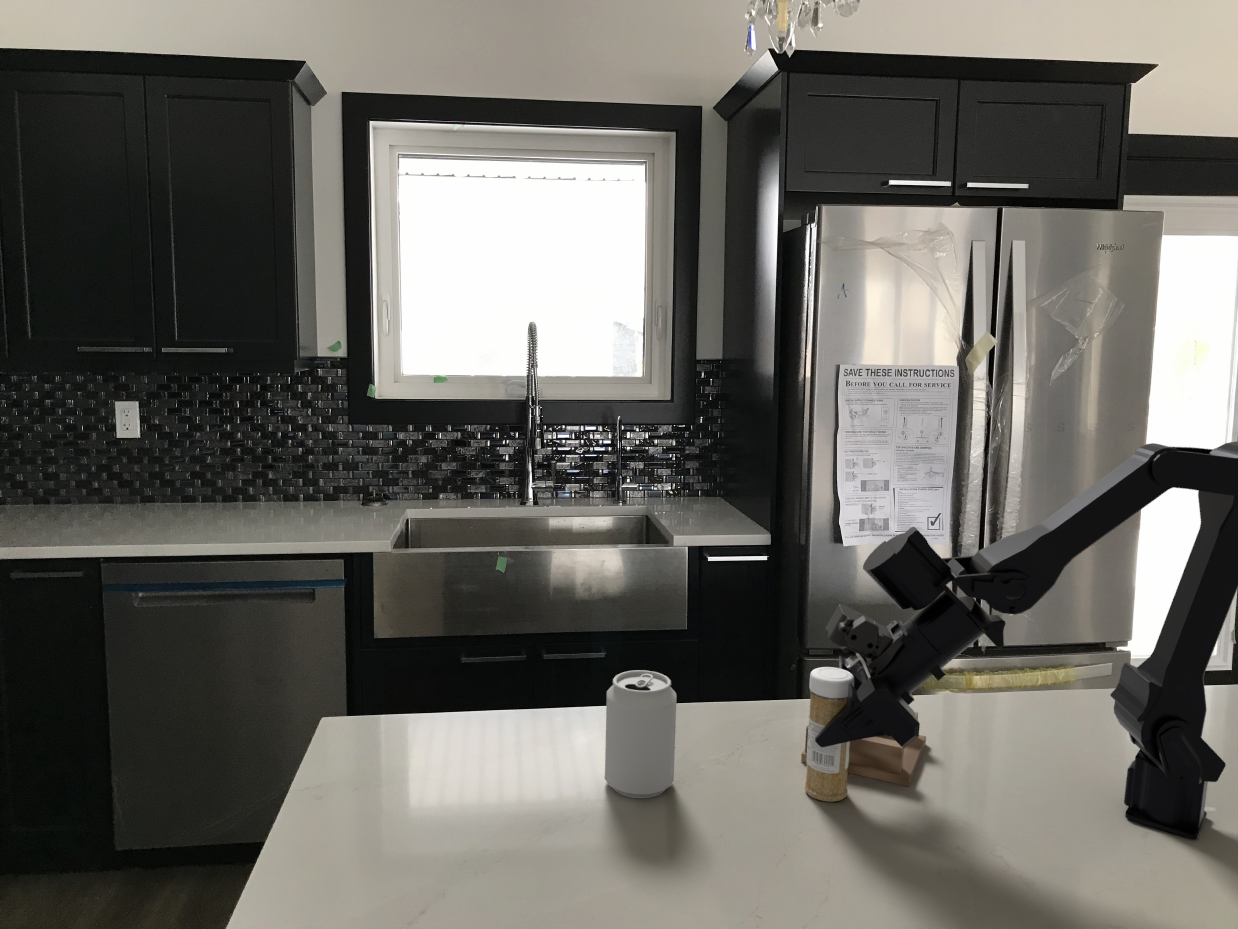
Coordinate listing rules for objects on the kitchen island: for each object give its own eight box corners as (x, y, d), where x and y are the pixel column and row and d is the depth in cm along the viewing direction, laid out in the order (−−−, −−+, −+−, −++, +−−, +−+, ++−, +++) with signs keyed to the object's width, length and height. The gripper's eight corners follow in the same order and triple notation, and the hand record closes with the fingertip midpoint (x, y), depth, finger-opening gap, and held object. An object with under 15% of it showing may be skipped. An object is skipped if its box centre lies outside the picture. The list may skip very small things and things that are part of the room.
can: (591, 791, 100) (593, 683, 98) (624, 763, 106) (626, 661, 105) (655, 809, 96) (658, 698, 95) (684, 779, 103) (688, 674, 101)
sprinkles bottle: (855, 794, 100) (863, 674, 99) (831, 808, 97) (838, 684, 95) (819, 778, 104) (826, 662, 102) (794, 792, 101) (801, 672, 99)
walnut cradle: (925, 744, 113) (928, 712, 112) (908, 786, 102) (911, 752, 102) (826, 723, 118) (828, 693, 118) (801, 761, 108) (802, 728, 107)
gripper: (863, 562, 106) (760, 649, 109) (892, 610, 88) (767, 715, 90) (930, 633, 106) (825, 719, 109) (973, 696, 88) (846, 797, 91)
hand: (815, 734), depth 100 cm, fingers closed on sprinkles bottle, 4 cm apart
